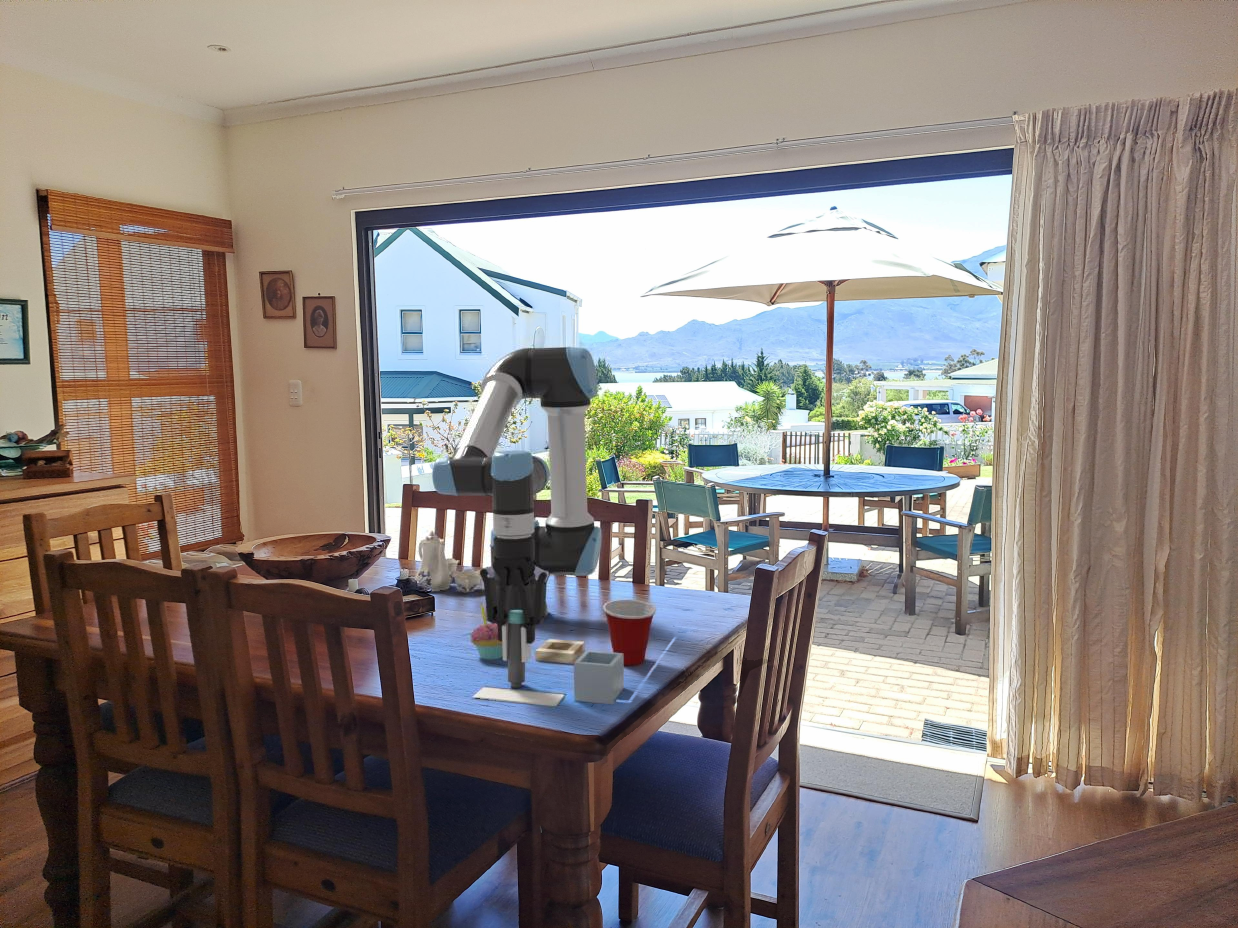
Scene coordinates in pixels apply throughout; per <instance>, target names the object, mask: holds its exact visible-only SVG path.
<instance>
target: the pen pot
mask: <svg viewBox="0 0 1238 928" xmlns="http://www.w3.org/2000/svg"><path fill="white" fill-rule="evenodd" d="M624 667H625V666H624V664H623V653H613V651H612V652H611V651H610V652H609V651H600V650H599V651H598V650H586V649H585V652H584V653H583V654H582V655H581V656H580V657H579V658H578V659H577V660H576V661H575V662H574V663H573V691H574V692H573V694H574V701H575V702H582V703H583V702H585V703H594V704H604V705H605V704H606V705H614V704H615V703H616V701H617V700H618V698H617V697H618V696H619V695H620V693H621V692H622V691H623V689H624V685H625V684H624V683H625V680H624V679H625V678H624V675H625V674H624V672H625V671H624Z"/></svg>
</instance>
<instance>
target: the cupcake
mask: <svg viewBox="0 0 1238 928" xmlns="http://www.w3.org/2000/svg"><path fill="white" fill-rule="evenodd" d="M480 611H481V615H482V616H481V617H482V621H483V624H482V625H479V626H477V627H476V628H474V630H473V631H472V632H471V634H470V642H471V643H472V644H473V645H474V646H475V648H476V650H477V652H478V655H479V658H480V659H483V660H497V659H500V658H503V648H502V641H499V640H498V625H497V623H494V622H490V623H488V622H487V621H488V620H487V619H486V615H485V606H484V605H483V603H482V601H480Z"/></svg>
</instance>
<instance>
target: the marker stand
mask: <svg viewBox="0 0 1238 928" xmlns="http://www.w3.org/2000/svg"><path fill="white" fill-rule="evenodd" d="M585 651H586V643H585V641H579V640H578V641H577V640H567V639H566V640H563V639H554V638H553V639H551V638H549V639H547V640H546V641H545V642H543V643H542V644H541V645H539V647H538V648H537V649H535V651H534V655H535V656H534V659H535V660H534V661H539V662H548V663H558V664H560V663H561V664H562V663H563V664H573V665H574V662H575V661H576V660H577V659H578V658H579V657H580V656H581V655H582V654H583V653H584V652H585Z"/></svg>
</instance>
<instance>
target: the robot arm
mask: <svg viewBox="0 0 1238 928" xmlns="http://www.w3.org/2000/svg"><path fill="white" fill-rule="evenodd" d="M596 370H597V369H596V366H595V361H594V358H593V356H592V354H591V352H590V351H589V350H588V349H586V348H584V347H572V346H563V347H560V346H558V347H534V348H533V347H524V348H523V347H522V348H520V349H517V350H514V351H512V352H510V353H508V354H506V355H505V356H503V357H501V358H500V359H499V360H498V361H496V363H494V364H493V365H492V366H491V367H490V368H489V370H488V371H487V372H486V374H485V375H484V376H483V379H482V381H481V384H480V392H481V394H480V397H479V398H478V401H477V403H476V405H475V408H474V409H473V411H472V414H471V415H470V418H469V420H468V422H467V424H466V426H465V429H464V431H463V433H462V436H461V437H460V439H459V441H458V444H457V446H456V448H455V450H454V452H453V454H452V456H449V455H447V456H441V457H439V458H437V459H436V460H435V461H434V463H433V466H432V473H431V475H432V477H431V479H432V484H433V487H434V489H435V491H436V492H437V493H438V494H441V495H449V496H450V495H451V496H456V497H459V496H492V525H493V526H492V529H491V531H490V543H489V547H490V566H485V567H483V568H482V569H479V570H480V575H481V580H482V582H483V588H484V598H485V599H484V600H485V606H484V610H485V615H486V620H487V621H489V622H490V623H497V625H498V640H499V641H502V648H503V657H502V661H505V662H508V637H509V622H508V619H509V611H511V610H522V611H523V617H524V623H525V625H524V626H523V627H521V650H522V662H525V663H527V662H529V660H530V659H531V658H532V647H531V646H532V644H533V643H534V642H535V640H536V626H537V625H538V626H539V625H540V624H541V623H543V622H544V620H545V619H546V618H547V617H548V616H549V615H548V614H549V613H548V603H547V585H548V584H547V582H548V580H549V579H550V576H573V577H578V576H590V575H592V574H593V573H594V572H595V571H596V570H597V567H598V563H599V560H600V556H601V555H600V554H601V549H602V539H603V538H602V537H603V536H602V535H603V533H602V528H601V527H599V526H595V518H594V517H593V515H591V514H590V513H589V512H588V490H587V487H588V483H587V459H586V458H587V456H586V454H587V453H586V452H587V451H586V426H585V425H586V424H585V423H586V422H585V421H586V420H585V419H586V418H585V412H586V411H587V410H588V409H589V408H590V407H591V405H592V404H591V402H592V401H591V400H592V399H595V398H596V397H597V395H598V376H597V371H596ZM523 399H524V400H526V399H540V401H539V403H540V408H541V409H542V410H543V411H544V412H546V414H547V433H548V435H547V438H548V457H549V458H548V459H549V460H548V461H549V463H548V464H549V465H548V464H547V463H546V461H545V460H544V459H542V458H541V457H539V456H536V455H532V453H531V452H529V451H527V450H501V451H498V452H497V451H496V449H497V447H498V445H499V442H500V440H501V438H502V435H503V432H504V430H505V428H506V425H507V423H508V421H509V418H510V416H511V413H512V412H513V409H514V408H515V407H517V406H518V405H519V404H520V403H521V401H522V400H523ZM549 482H550V483H549ZM548 483H549V484H550V486H549V487H550V510H551V513H550V514H549V515H548V517H547V518H546V519H545V520H544V521H545V525H544V526H541V525H540V522H539V520H538V519H535V514H534V513H535V512H534V511H535V510H534V509H535V507H534V495H536V494H539V493H540V492H542V491H543V490H544V488H546V486H547V485H548Z"/></svg>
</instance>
